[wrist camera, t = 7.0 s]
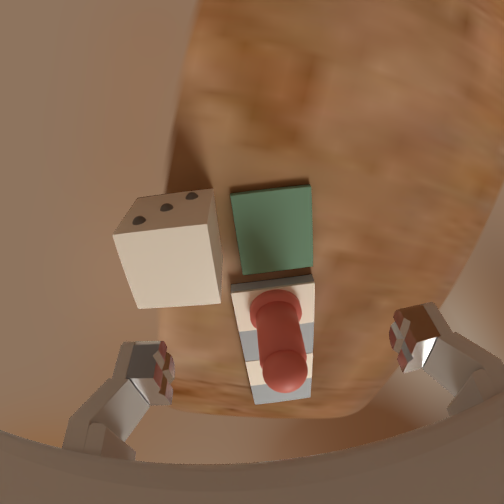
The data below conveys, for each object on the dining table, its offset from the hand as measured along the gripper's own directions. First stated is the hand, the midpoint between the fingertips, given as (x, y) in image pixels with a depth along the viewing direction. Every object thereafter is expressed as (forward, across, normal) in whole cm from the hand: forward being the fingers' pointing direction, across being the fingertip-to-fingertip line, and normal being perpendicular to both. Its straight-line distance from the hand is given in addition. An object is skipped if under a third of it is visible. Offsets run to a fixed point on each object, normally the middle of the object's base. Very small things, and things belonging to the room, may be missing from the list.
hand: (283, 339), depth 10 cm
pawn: (+10, 0, +8) cm, 13 cm away
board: (+10, 0, +14) cm, 18 cm away
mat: (+11, -1, +2) cm, 11 cm away
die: (+9, +3, +1) cm, 9 cm away
